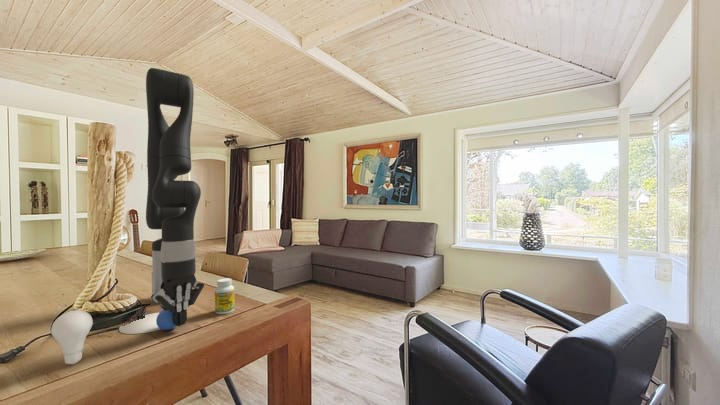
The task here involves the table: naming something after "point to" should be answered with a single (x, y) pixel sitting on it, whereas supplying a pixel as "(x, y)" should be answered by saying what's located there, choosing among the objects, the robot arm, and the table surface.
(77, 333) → the lightbulb
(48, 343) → the table surface
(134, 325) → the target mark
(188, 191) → the robot arm
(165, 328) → the ball
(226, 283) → the supplement bottle
